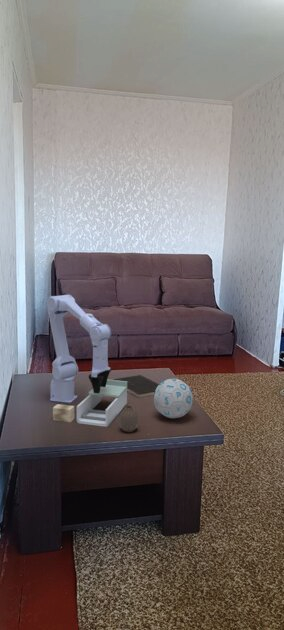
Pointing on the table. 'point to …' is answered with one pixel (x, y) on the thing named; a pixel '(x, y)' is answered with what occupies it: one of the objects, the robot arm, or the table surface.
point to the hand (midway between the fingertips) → (99, 389)
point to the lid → (112, 388)
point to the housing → (96, 416)
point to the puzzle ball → (173, 398)
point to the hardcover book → (139, 385)
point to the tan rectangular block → (63, 413)
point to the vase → (128, 419)
